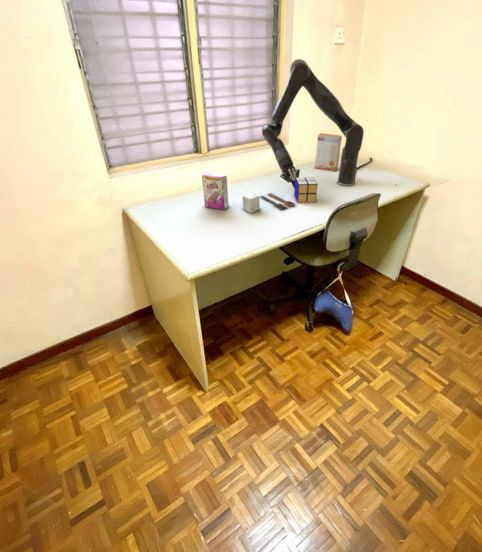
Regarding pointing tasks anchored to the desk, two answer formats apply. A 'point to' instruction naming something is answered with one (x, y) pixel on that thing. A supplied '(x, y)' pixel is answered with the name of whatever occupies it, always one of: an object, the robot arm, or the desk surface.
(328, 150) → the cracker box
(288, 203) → the salad spoon
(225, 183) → the candy bar box
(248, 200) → the product box
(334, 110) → the robot arm
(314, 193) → the puzzle cube
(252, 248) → the desk surface
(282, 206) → the salad fork
